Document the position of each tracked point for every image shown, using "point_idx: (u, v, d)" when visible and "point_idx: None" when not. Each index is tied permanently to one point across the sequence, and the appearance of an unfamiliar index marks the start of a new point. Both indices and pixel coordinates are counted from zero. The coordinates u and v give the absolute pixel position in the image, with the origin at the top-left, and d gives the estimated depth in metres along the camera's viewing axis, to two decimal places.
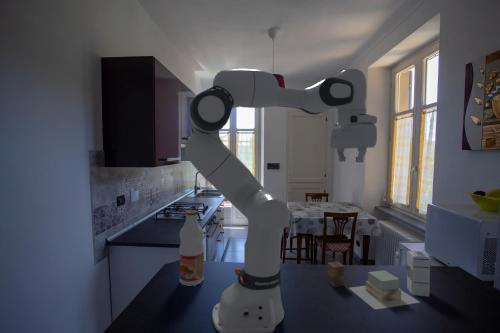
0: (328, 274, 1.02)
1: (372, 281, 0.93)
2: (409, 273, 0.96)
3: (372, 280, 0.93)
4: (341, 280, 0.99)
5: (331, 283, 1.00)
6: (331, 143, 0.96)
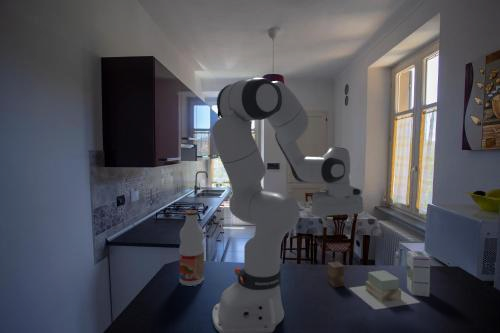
0: (328, 274, 1.02)
1: (372, 281, 0.93)
2: (409, 273, 0.96)
3: (372, 280, 0.93)
4: (341, 280, 0.99)
5: (331, 283, 1.00)
6: (318, 211, 0.96)
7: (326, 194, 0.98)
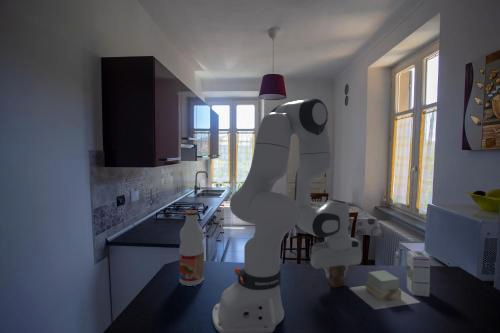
0: None
1: (372, 281, 0.93)
2: (409, 273, 0.96)
3: (372, 280, 0.93)
4: (341, 280, 0.99)
5: (331, 283, 1.00)
6: (317, 264, 0.97)
7: (325, 246, 0.99)
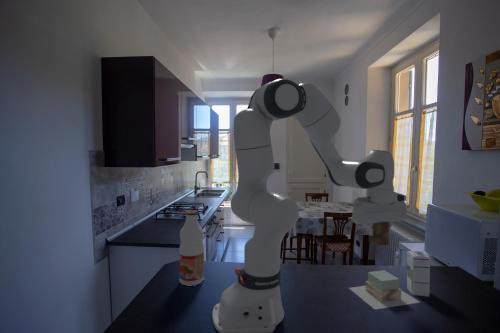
0: None
1: (372, 281, 0.93)
2: (409, 273, 0.96)
3: (372, 280, 0.93)
4: (385, 237, 0.92)
5: (374, 241, 0.92)
6: (360, 219, 0.89)
7: (368, 201, 0.91)
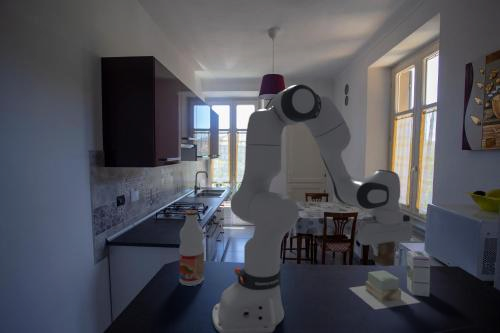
0: None
1: (372, 281, 0.93)
2: (409, 273, 0.96)
3: (372, 280, 0.93)
4: (391, 257, 0.91)
5: (379, 261, 0.92)
6: (366, 240, 0.89)
7: (373, 221, 0.91)
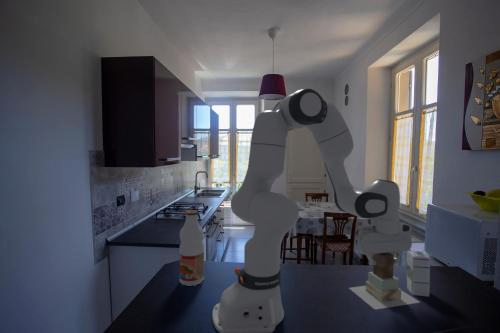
0: None
1: (372, 281, 0.93)
2: (409, 273, 0.96)
3: (372, 280, 0.93)
4: (390, 270, 0.91)
5: (379, 273, 0.92)
6: (365, 249, 0.89)
7: (373, 230, 0.91)
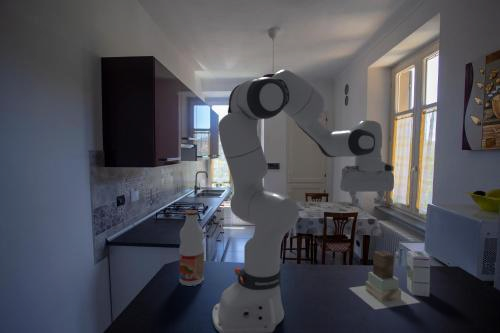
0: (374, 264, 0.94)
1: (372, 281, 0.93)
2: (409, 273, 0.96)
3: (372, 280, 0.93)
4: (390, 270, 0.91)
5: (379, 273, 0.92)
6: (348, 186, 0.92)
7: (356, 169, 0.94)
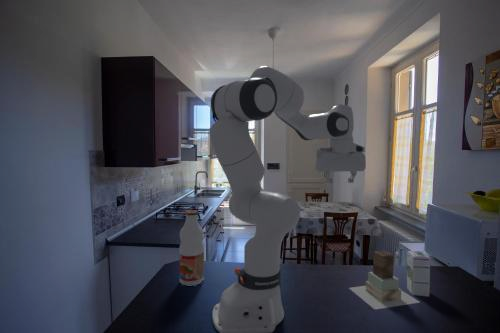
0: (374, 264, 0.94)
1: (372, 281, 0.93)
2: (409, 273, 0.96)
3: (372, 280, 0.93)
4: (390, 270, 0.91)
5: (379, 273, 0.92)
6: (322, 166, 0.99)
7: (330, 151, 1.01)
